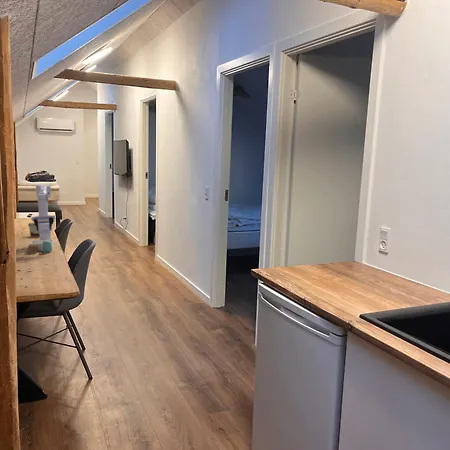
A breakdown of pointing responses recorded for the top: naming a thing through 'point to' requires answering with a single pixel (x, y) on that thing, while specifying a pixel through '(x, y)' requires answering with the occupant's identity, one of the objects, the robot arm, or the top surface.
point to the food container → (33, 229)
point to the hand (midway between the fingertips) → (43, 229)
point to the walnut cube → (33, 248)
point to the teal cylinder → (46, 246)
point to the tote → (40, 244)
